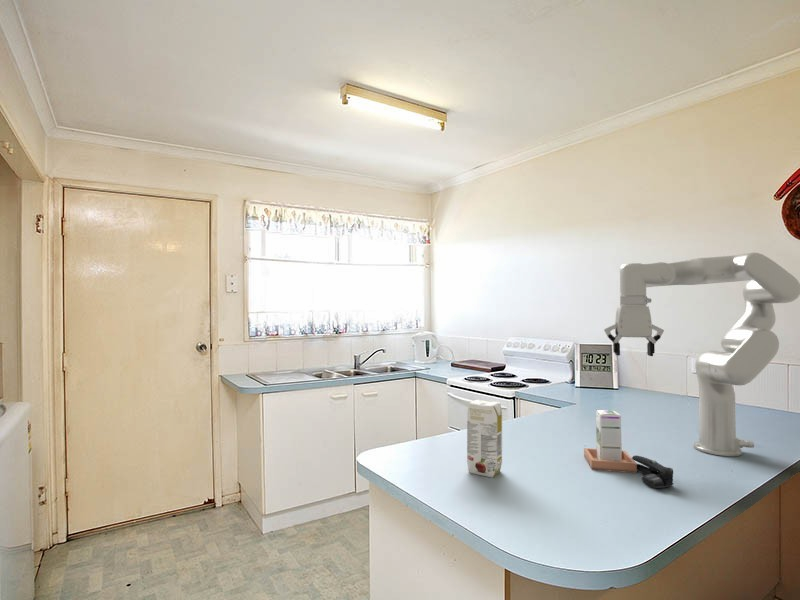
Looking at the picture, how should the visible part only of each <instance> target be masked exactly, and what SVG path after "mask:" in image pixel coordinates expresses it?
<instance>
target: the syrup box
mask: <svg viewBox="0 0 800 600" xmlns="http://www.w3.org/2000/svg"><path fill="white" fill-rule="evenodd" d="M621 418H622V415H621V414H620V413H618V412H617V411H616V410H613V409H611V410H610V409H600V410H596V411H595V420H596V421H595V423H596V424H595V425H596V427H595V429H596V430H595V432H596V433H595V435H596V436H595V437H596V439H595V440H596V449H597V459H598V460H606V461H620V462H622V451H623V450H622V449H623V447H622V444H623V443H622V419H621Z"/></svg>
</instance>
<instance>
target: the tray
mask: <svg viewBox="0 0 800 600" xmlns="http://www.w3.org/2000/svg"><path fill="white" fill-rule="evenodd" d="M583 457H584V459H585V461H586V462H587V463H588V466H589V467H590V469H591V470H594V469H595V470H597V471H598V470H599V471H607V470H611V472H620V471H625V472H624V473H633V472H637V473H638V470H637V464H638V463H637V461H635V460H633V459H632V457H631V455H630V454H628V452H627V451H626V450H622V462H620V461H606V460H598V459H597V448H588V447H583ZM595 470H594V471H595Z"/></svg>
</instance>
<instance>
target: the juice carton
mask: <svg viewBox="0 0 800 600" xmlns="http://www.w3.org/2000/svg"><path fill="white" fill-rule="evenodd" d="M466 411H467V412H466V421H467V422H466V423H467V424H466V426H467V427H466V462H467V470H468V473H470V474H472V475H473V474H474V475H477V476H484V477H487V478H494V477H495V476H496V475H497V474H498V473H500V472H501V468H502V463H503V409H502V404H501V402H499V401H486V400H483V399H482V400H481V399H475V400H473V401H470V402H469V403H468V405H467V410H466Z"/></svg>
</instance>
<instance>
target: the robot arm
mask: <svg viewBox="0 0 800 600" xmlns="http://www.w3.org/2000/svg"><path fill="white" fill-rule="evenodd" d="M744 281H747V282H746V283H745V284H744V286H743V288H742V296H743V299H744V303H745V309H744V312H743V314H741V316H740V317H739V319H738V320H736V321H735V323H734V324H733V325H732V326H731V327H730V328H729V329H728V330H727V332H726V333H725V334H723V336H722V339H721V341H720V346H721V348H722V349H723V351H719V350H708V351H704V352H702V353H701V354H700V355H698V357H697V359H696V360H695V374H696V378H697V382H698V383H697V384H698V398H699V399H698V400H699V401H698V404H699V405H698V410H699V411H698V413H699V414H698V417H699V418H698V421H699V424H698V425H699V427H698V428H699V430H698V431H699V432H698V433H699V441H695V442H694V443H693V447H694V449H696V450H697V451H700V452H702V453H706V454H711V455H716V456H722V457H738V456H741V455H743V450H742V448H748V449H749V448H750V449H754V448H755V443H754V441H751V440H749V441H748V440H745V439H739V438H737V436H736V435H737V433H736V431H737V430H736V393H735V389H734V386H745V385H747V384H749V383H751V382H752V381H753V380H754V379H756V378H757V377H758V375H759V374H760V373H761V372H762V371H763V370H764V369H765V368H766V366H768V365H769V363H770V362H771V361H773V359H774V358H775V357H776V356H777V354H778V352H779V348H780V341H779V338H778V336H777V334H776V333H775V332H774V331H772V329H773V327H774V326H775V324H776V321H777V320H776V318H777V317H776V313H775V309H774V305H773V304H786V303H787V304H788V303H792V302H795V301H796V300H797V299H798V298H799V297H800V282H799V280H798V279H797V278H796V277H795V276H794V275H793V274H791V273H790V272H789V271H788V270H786V269H785V268H784V267H782V266H781V265H779V264H778V262H776V261H774V260H773V259H771V258H770V257H768V256H766V255H765V254H763V253H760V252H748V253H742V254H734V255H733V254H732V255H723V256H710V257H698V258H691V259H685V260H682V261H676V262H671V263H670V262H653V263H641V262H640V263H639V262H638V263H637V262H636V263H634V262H632V263H630V262H629V263H624V264H621V266H620V267H619V303H620V304H619V305H620V306H618V305H617V307H616V312H615V320H614V322H615V323H614V324H612V325H609V326H608V327H606V328H604V329H603V332H604V333H605V334H606V337H607V338H608V339H609V340H610V341H611V342H612V343H613V344H612V345H613V347H612V348H613V349H612V352H613V354H615V356H617V357H618V356H621V343H619V342H620V341H621V339H622V338H645V339H646V340H647V341H648V342H647V343H646V346H647V347H646V349H647V356H649V357H653V356H654V354H655V353H656V352H655V344H656V343H657V342H658V341H659V340H660V339H661V337H662V335H663V333H664V329H662V327H659V326H656V325H655V324H652V323H653V322H652V316H651V310H650V306H647V305H648V303H649V304H650V303H652V298H649V297H648V296H647V288H653V287H656V288H657V287H666V286H667V287H668V286H696V285H697V286H698V285H708V284H721V283H723V284H724V283H733V282H734V283H735V282H744ZM611 331H614V334H615V336H614V335H613V334H612V332H611ZM653 331H656V334H654V336H652V335H653Z"/></svg>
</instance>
